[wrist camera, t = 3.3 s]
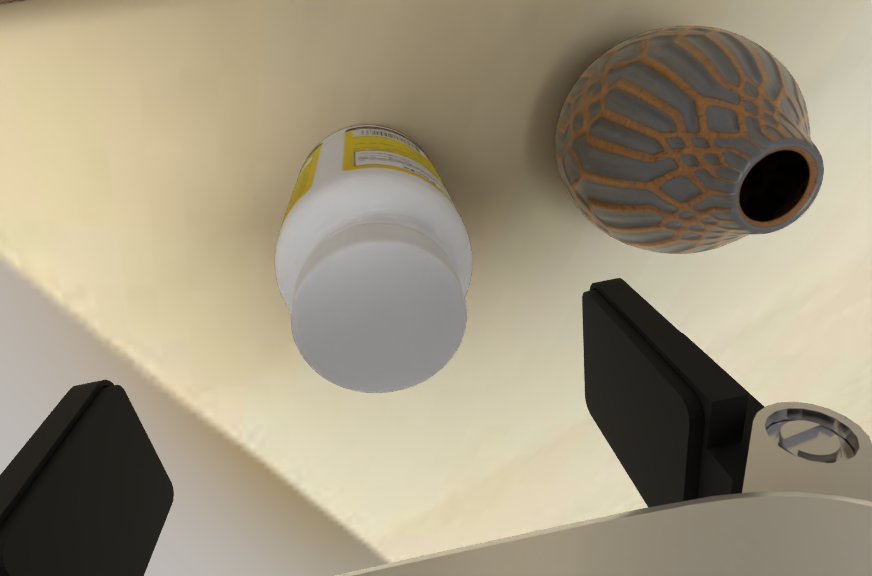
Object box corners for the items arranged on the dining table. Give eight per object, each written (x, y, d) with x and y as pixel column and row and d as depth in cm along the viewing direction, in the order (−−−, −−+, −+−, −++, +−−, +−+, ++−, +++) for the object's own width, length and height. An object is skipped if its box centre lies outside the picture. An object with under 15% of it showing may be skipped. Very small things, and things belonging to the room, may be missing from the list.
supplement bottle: (339, 278, 22) (326, 448, 13) (271, 159, 19) (200, 272, 11) (460, 226, 22) (527, 365, 13) (406, 97, 19) (444, 163, 10)
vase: (741, 74, 20) (977, 109, 13) (642, 232, 23) (787, 343, 15) (593, -12, 18) (764, -33, 11) (502, 172, 21) (587, 264, 13)
